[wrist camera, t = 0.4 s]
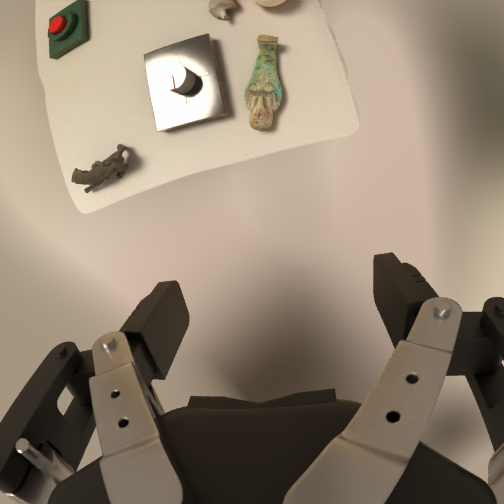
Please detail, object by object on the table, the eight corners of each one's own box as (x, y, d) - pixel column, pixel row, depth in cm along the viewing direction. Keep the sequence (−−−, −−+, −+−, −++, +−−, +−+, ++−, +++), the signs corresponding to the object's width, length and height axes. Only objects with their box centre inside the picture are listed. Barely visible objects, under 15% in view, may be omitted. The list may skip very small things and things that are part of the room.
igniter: (55, 20, 35) (44, 17, 31) (87, 0, 33) (76, -5, 30) (56, 59, 39) (43, 57, 35) (88, 39, 37) (76, 35, 34)
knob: (166, 72, 37) (153, 67, 33) (192, 64, 37) (182, 57, 32) (170, 97, 39) (158, 94, 34) (197, 89, 38) (187, 84, 34)
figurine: (294, 46, 37) (295, 39, 33) (273, 133, 43) (272, 133, 39) (260, 40, 37) (258, 32, 33) (238, 126, 43) (235, 125, 39)
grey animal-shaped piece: (128, 139, 45) (106, 141, 38) (139, 169, 47) (117, 175, 40) (81, 166, 47) (57, 172, 40) (90, 193, 49) (67, 202, 42)
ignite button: (53, 23, 32) (48, 22, 31) (66, 14, 32) (61, 12, 30) (53, 36, 34) (48, 35, 32) (67, 27, 33) (61, 26, 31)
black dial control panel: (151, 58, 39) (143, 54, 36) (212, 38, 37) (208, 32, 34) (164, 131, 44) (156, 131, 41) (228, 115, 42) (224, 113, 39)
